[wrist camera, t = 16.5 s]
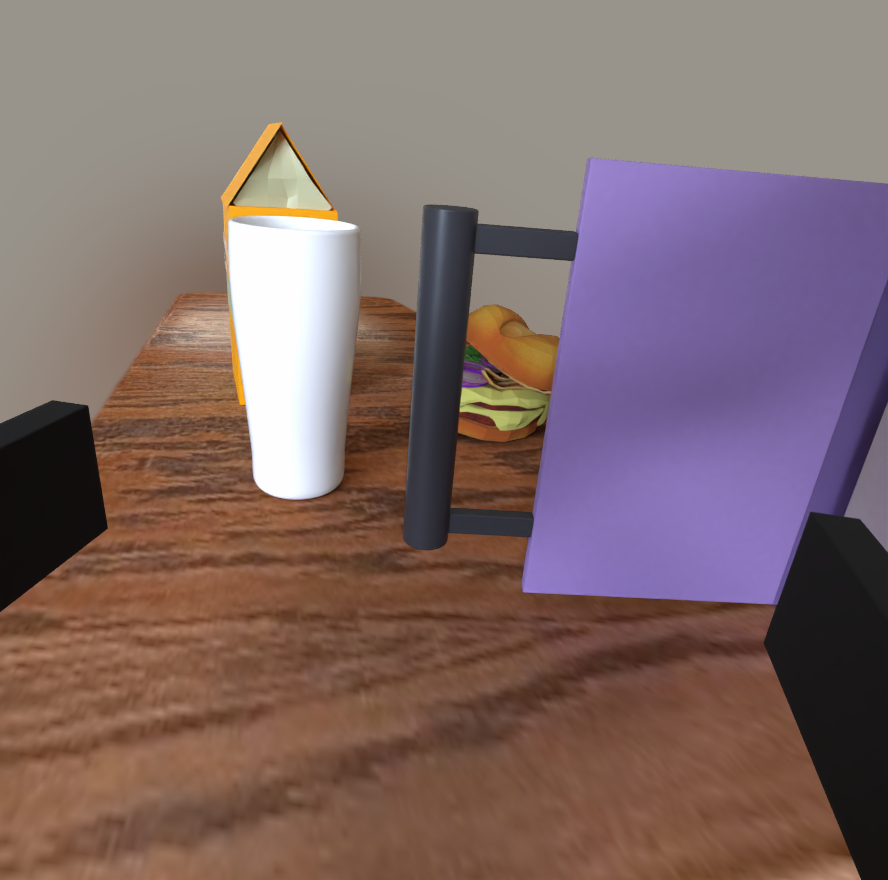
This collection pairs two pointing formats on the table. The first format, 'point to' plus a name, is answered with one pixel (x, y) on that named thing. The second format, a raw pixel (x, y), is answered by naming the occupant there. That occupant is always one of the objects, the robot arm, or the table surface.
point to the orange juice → (271, 198)
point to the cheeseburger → (505, 376)
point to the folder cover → (663, 375)
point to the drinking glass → (295, 345)
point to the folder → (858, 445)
